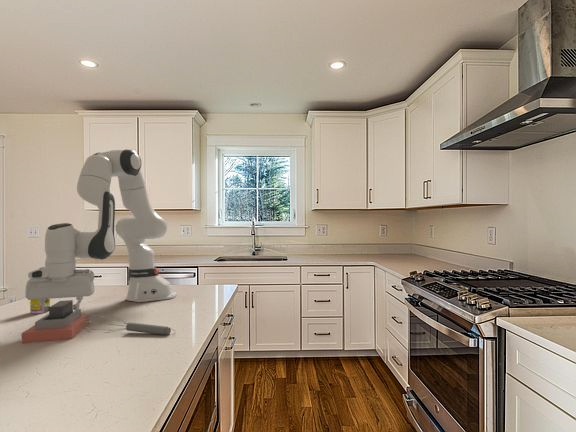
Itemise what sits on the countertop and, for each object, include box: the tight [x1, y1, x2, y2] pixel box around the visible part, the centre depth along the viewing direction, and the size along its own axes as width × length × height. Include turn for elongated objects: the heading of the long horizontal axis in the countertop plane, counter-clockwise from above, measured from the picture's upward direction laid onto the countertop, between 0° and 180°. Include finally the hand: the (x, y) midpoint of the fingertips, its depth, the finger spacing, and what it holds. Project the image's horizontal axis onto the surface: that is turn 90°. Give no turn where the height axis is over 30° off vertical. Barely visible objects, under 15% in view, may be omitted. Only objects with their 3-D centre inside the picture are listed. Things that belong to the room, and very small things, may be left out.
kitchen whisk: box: [82, 312, 176, 336], centre depth 115 cm, size 6×34×6 cm, turn 80°
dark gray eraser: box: [48, 299, 74, 320], centre depth 119 cm, size 4×9×6 cm, turn 13°
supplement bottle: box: [29, 299, 51, 315], centre depth 142 cm, size 7×7×13 cm
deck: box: [21, 308, 90, 344], centre depth 116 cm, size 14×16×6 cm
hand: (61, 310), depth 119 cm, fingers open, 8 cm apart
